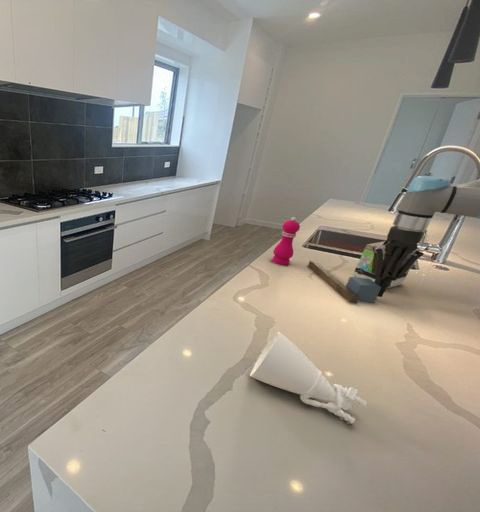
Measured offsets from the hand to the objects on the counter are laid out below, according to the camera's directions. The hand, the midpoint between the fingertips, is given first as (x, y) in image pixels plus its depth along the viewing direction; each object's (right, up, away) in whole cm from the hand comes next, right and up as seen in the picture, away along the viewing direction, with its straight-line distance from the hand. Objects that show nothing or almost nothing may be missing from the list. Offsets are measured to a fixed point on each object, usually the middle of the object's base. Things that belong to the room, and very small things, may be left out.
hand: (376, 294), depth 101 cm
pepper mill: (-16, +10, +27) cm, 33 cm away
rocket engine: (-53, -16, -39) cm, 68 cm away
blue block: (-5, -1, +1) cm, 5 cm away
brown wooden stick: (-7, +3, +11) cm, 14 cm away
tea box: (+12, +3, +13) cm, 18 cm away
